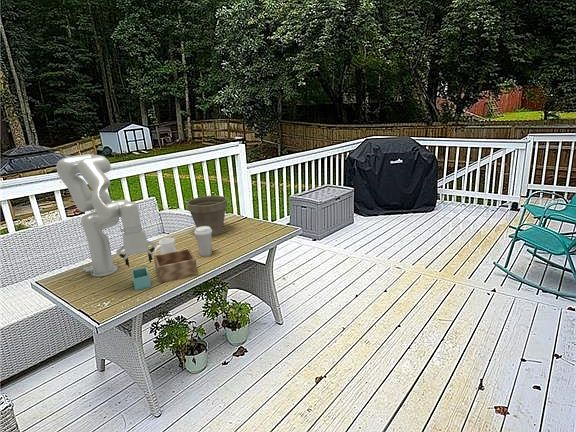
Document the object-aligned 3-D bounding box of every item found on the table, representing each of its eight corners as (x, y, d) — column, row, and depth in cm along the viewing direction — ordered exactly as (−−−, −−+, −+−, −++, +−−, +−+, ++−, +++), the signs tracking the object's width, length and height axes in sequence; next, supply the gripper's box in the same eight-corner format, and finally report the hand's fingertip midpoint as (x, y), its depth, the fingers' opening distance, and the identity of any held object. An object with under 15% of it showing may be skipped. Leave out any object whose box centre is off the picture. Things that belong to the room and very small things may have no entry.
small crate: (135, 291, 182) (133, 279, 180) (133, 281, 191) (131, 270, 190) (151, 287, 185) (149, 275, 183) (148, 278, 194) (146, 267, 192)
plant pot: (189, 229, 262) (185, 197, 255) (226, 224, 269) (223, 193, 262) (192, 241, 239) (188, 207, 232) (232, 236, 246) (229, 202, 239)
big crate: (160, 282, 188) (157, 267, 186) (155, 270, 202) (153, 255, 200) (197, 274, 196) (195, 259, 193) (190, 262, 209) (189, 248, 207)
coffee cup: (197, 258, 215) (194, 232, 210) (196, 251, 224) (193, 226, 219) (215, 255, 217) (212, 230, 212) (213, 249, 226) (211, 224, 221)
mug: (159, 264, 209) (156, 246, 206) (152, 260, 214) (149, 242, 211) (179, 257, 217) (177, 240, 214) (172, 253, 222) (169, 236, 219)
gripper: (112, 235, 173) (120, 271, 178) (153, 227, 179) (159, 262, 184) (112, 230, 179) (119, 265, 184) (151, 223, 186) (157, 257, 191)
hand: (139, 263), depth 184 cm, fingers open, 9 cm apart
